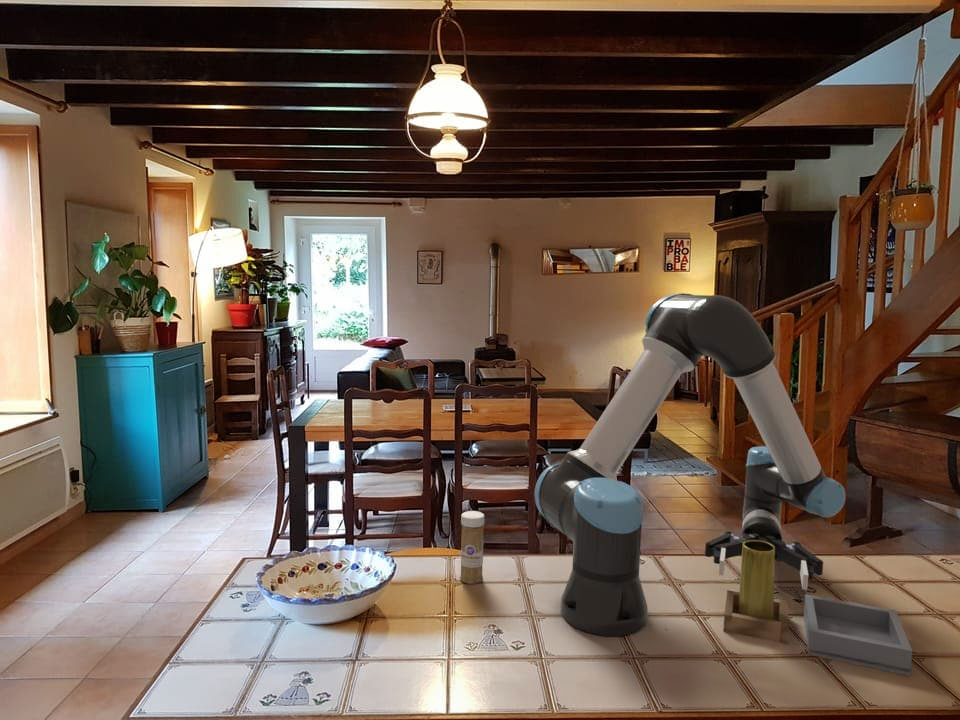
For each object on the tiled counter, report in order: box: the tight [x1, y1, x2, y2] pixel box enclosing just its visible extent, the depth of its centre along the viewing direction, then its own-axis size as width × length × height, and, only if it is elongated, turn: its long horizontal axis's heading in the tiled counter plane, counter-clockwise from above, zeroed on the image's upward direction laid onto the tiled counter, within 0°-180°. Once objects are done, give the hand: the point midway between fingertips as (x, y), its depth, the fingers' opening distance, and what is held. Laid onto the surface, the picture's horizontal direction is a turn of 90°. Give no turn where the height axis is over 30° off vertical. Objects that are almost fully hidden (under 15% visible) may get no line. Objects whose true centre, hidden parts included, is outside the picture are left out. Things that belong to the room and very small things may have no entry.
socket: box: [723, 589, 790, 645], centre depth 117 cm, size 10×10×3 cm
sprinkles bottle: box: [459, 510, 485, 585], centre depth 131 cm, size 5×5×14 cm
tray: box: [803, 593, 913, 676], centre depth 111 cm, size 14×14×4 cm
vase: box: [737, 540, 776, 621], centre depth 116 cm, size 6×6×14 cm
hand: (762, 575), depth 117 cm, fingers open, 13 cm apart
